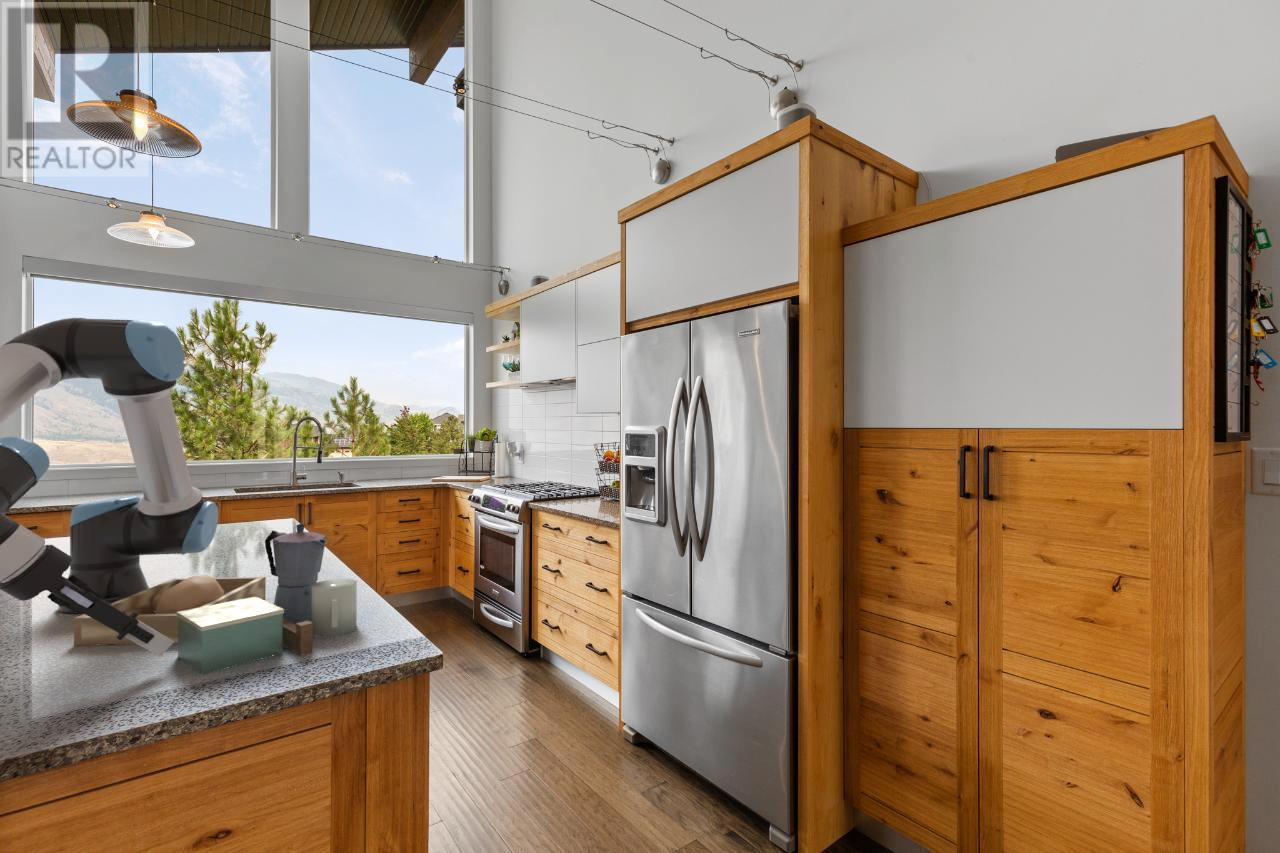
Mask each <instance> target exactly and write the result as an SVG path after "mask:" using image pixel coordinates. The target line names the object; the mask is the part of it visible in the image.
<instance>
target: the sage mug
mask: <svg viewBox="0 0 1280 853" xmlns="http://www.w3.org/2000/svg"><path fill="white" fill-rule="evenodd" d="M316 582H317V583H315V584H313V585H312V596H311V622H312V623H313V636H315V635H316V637H334V635H336V636H340V635H339V634H341V635H345V634H347V632H348V633H350V631H351V632H353V631H354V630H356V629H357V620H358V619H357V616H358V615H357V612H358V611H357V608H358V607H357V605H358V604H357V603H358V600H357V598H358V597H357V596H358V581H357V580H355V579H351V578H334V579H326V580H325V579H324V580H322V581H316ZM355 628H356V629H355ZM352 630H353V631H352ZM344 633H345V634H344Z"/></svg>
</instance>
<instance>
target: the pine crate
mask: <svg viewBox="0 0 1280 853" xmlns="http://www.w3.org/2000/svg"><path fill="white" fill-rule="evenodd" d="M187 578H188V577H187ZM187 578H181V577H180V578H178V577H177V578H173V579H170V580H167V581H164V582H162V583H160V584H157V585H154V586H152V587H149V589H147V590H144V591H142V592H139V593H137V594H134V595H132V596H129V597H126V598H124V599H121V600H119V601H116V602H114V603H111V605H113V606H114V607H116V608H117V609H119V610H121V611H125V612H126V613H127V615H131V614H132V613H133V612H135V613H136V614H138V616H137V617H136V618H135V619H137V620H139V621H141V622H142V623H144V624H146V625H147V626H149V627H151V628H152V629H154V630H156V631H157V632H159V633H161V634H162V635H164V636H166V637H167V638H169V639H171V640H172V641H174V643H173V644H178V616H177V614H156V613H155V610H154V609H153V608H152V607H151V605H152V601H153V598H154V597H155V595H157V594H159V593H161V592H164V591H166V590H168V589H170V588H171V587H173V586H175V585H177V584H179V583H180V582H182V581H183V580H185V579H187ZM214 578H215V579H216V581H217V582H218V583H219V585H220V586H221V588H222V589H223V590H224V595H223V596H221V597H220V598H218V599H215V600H213V601H211V602H209V603H207V604H205V605H203V606H201V607H205V606H210V605H215V604H220V603H225V602H231V601H236V600H241V599H246V598H251V597H258V598H260V599H262V600H263V599H264V600H265V599H266V587H267V586H266V585H267V584H266V580H267V578H266V576H249V577H248V576H241V577H240V576H239V577H237V576H235V577H214ZM199 608H200V607H199ZM153 612H154V614H153ZM118 635H119V633H118V632H116V631H114V630H113V629H111V628H109V627H107V626H105V625H104V624H102V623H100V622H98V621H96V620H95V619H93V618H91V617H89V616H88V615H86V614H80V615H79V616H76V617H73V647H76V646H75V645H81V646H82V645H87V646H98V645H97V644H120V645H137V644H136V643H135V642H133V641H131V640H129V639H128V638H126V637H124V638H123V639H122V640H119V639H118V638H116V637H117V636H118ZM81 646H80V647H81ZM82 647H83V646H82Z"/></svg>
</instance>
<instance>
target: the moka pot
mask: <svg viewBox="0 0 1280 853" xmlns="http://www.w3.org/2000/svg"><path fill="white" fill-rule="evenodd" d="M304 530H305V524H302V523H298V524H296V531H293V532H291V533H287V532H278V531H277V530H271V532H270V534H268V536H266V538H265V539H264V544H265V546H264V547H265V552H266V555H267V559H268V563H269V569H270V570H269V571H270V574H271V575H272V576H274V577H277V584H278V585H277V587H276V590H275V591H276V592H275V597H274V601H273V604H274V605H276V606H278V607H280V608H283V609H284V613H283V619H285V620H288V621H290V622H292V623H294V624H296V623H300V622H304V621H310V622H311V596H312V585H313V584H315V583H317V582H318V581H319V580H318V579H319V573H320V572H321V569H322V563H323V558H324V553H325V552H324V551H325V547H326V545H327V544H328V541H327V536H326V535H324V534H321V533H318V532H312V531H309V532H308V531H304ZM271 541H272V545H271ZM272 547H273V549H272ZM272 550H273V551H272ZM273 555H274V556H273Z"/></svg>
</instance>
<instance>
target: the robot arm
mask: <svg viewBox="0 0 1280 853" xmlns="http://www.w3.org/2000/svg"><path fill="white" fill-rule="evenodd" d="M185 360H186V357H185V352H184V348H183V345H182V343H181V340H180V338H179V337H178V335H177V334H176V333H175V331H173V330H172V328H170V327H169V326H167V324H163V323H162V322H157V321H147V320H142V319H114V318H113V319H110V318H109V319H107V318H106V319H105V318H104V319H103V318H87V317H86V318H85V317H69V318H61V319H58V320H54V321H49V322H47V323H44V324H42V325H38V326H37V327H33V328H31V329H29V330H27V331H24V332H22V333H20V334H19V335H17V336H15V337H13V338H12V339H10V340H8V341H7V342H6V343H4V344H3V345H2V346H0V425H1V424H2V423H3V422H5V421H6V420H8V418H9V417H11V416H12V415H13V414H14V413H15V412H17V410H19V409H20V408H21V407H22V406H23V405H25V404H26V402H29V400H31V398H32V397H34V396H35V395H36V394H37V393H38V392H39V391H43V390H48V389H51V388H53V387H55V386H56V385H58V384H59V383H60V382H62V381H65V380H70V379H96V380H97V379H98V380H99V379H100V380H101V384H102V387H103V390H104V392H105V394H107V395H109V396H111V397H113V398H115V399H116V401H117V404H118V408H119V412H120V415H121V418H122V422H123V426H124V429H125V433H126V436H127V441H128V444H129V448H130V451H131V455H132V459H133V462H134V465H135V469H136V473H137V477H138V480H139V484H140V487H141V491H142V494H143V496H142V497H140V496H138V495H136V496H133V495H132V496H125V497H117V498H110V499H102V500H97V501H90V502H85V503H80V504H78V505H76V506H74V507H73V508H72V509H71V512H70V521H69V525H68V527H69V546H70V547H69V554H68V553H66V552H64V551H63V550H61V549H59V548H58V547H56V546H55V545H53V544H46V540H45V539H44V538H43V537H42V536H40V535H38V534H37V533H35V532H33V530H32V531H31V530H30V529H28V528H27V527H25V526H23V525H22V524H20V523H19V522H16V521H15V520H13V519H12V518H11V517H9V516H7V515H6V514H5V513H7V512H8V511H9V510H10V509H11V508H12V507H13V506H14V505H16V503H17V502H18V501H19V500H20V499H22V497H24V496H25V495H26V494H27V493H28V492H29V491H30V490H31V489H32V488H34V487H35V486H37V484H38V483H39V480H40V479H41V478H42V477H43V476H44V474H45V473H46V472H47V471H48V470H49V467H50V464H51V461H50V457H49V456H48V454H47V452H46V450H45V449H44V448H43V447H42V446H41V445H40V444H37V443H36V442H34V441H33V440H29V439H27V438H24V437H18V436H5V437H1V438H0V590H1V591H3V592H4V593H6V594H7V595H10V596H12V597H13V598H15V599H17V600H19V601H22V602H23V601H24V602H25V601H29V600H32V599H34V598H36V597H38V596H39V594H41V593H43V592H45V591H48V592H49V594H48V595H47V596H46V597H47V598H48V599H49V600H50V601H51V602H53V603H54V604H56V605H57V606H58V611H59V612H61V613H65V614H78V615H84V614H86V615H88V616H89V617H91V618H93V619H95V620H96V621H98V622H100V623H102V624H104V625H105V626H107V627H109V628H111V629H113V630H114V631H116V632H118V633H119V635H118V636H117V637H116V638H118V639H119V640H122V639H123V638H124V637H126V638H128V639H129V640H131V641H133V642H135V643H136V644H135V645H138V646H140V647H142V648H143V649H145V650H147V651H148V652H150V653H152V654H153V655H156V656H158V657H159V658H160V657H162V655H164V653H166V651H168V649H169V648H170V647H171V646H172V645H173V644H175V643H174V641H172V640H171V639H169V638H167V637H166V636H164V635H162V634H161V633H159V632H157V631H156V630H154V629H152V628H151V627H149V626H147V625H146V624H144V623H142V622H141V621H139V620H137V619H135V618H136V617H137V616H138V614H136V613H135V612H133V613H132V614H131V615H127V613H126V612H125V611H121V610H119V609H117V608H116V607H114V606H113V605H111V603H114V602H116V601H119V600H121V599H124V598H126V597H129V596H132V595H134V594H137V593H139V592H142V591H144V590H147V589H149V588H150V587H149V585H148V583H147V579H146V577H145V575H144V572H143V570H142V568H141V564H140V557H141V556H154V555H157V556H158V555H186V554H196V553H201V552H204V551H206V549H208V547H210V545H211V543H212V542H213V540H214V537H215V535H216V531H217V528H218V523H219V509H218V505H217V503H215V502H214V501H211V500H207V501H205V500H204V497H203V496H204V495H203V493H202V491H201V489H199V488H198V487H195V486H193V484H192V481H191V477H190V472H189V469H188V464H187V459H186V456H185V455H186V454H185V452H184V451H185V450H184V447H183V443H182V439H181V434H180V429H179V425H178V421H177V418H176V413H175V408H174V405H173V399H172V395H171V391H172V390H173V389H174V388H175V386H177V383H178V382H177V380H179V379H180V378H181V377H182V375H183V374H184V371H185V368H186V365H185V363H184V361H185ZM68 569H69V573H68V577H65V576H64V575H63V574H64V573H65V572H67V571H68Z"/></svg>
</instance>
